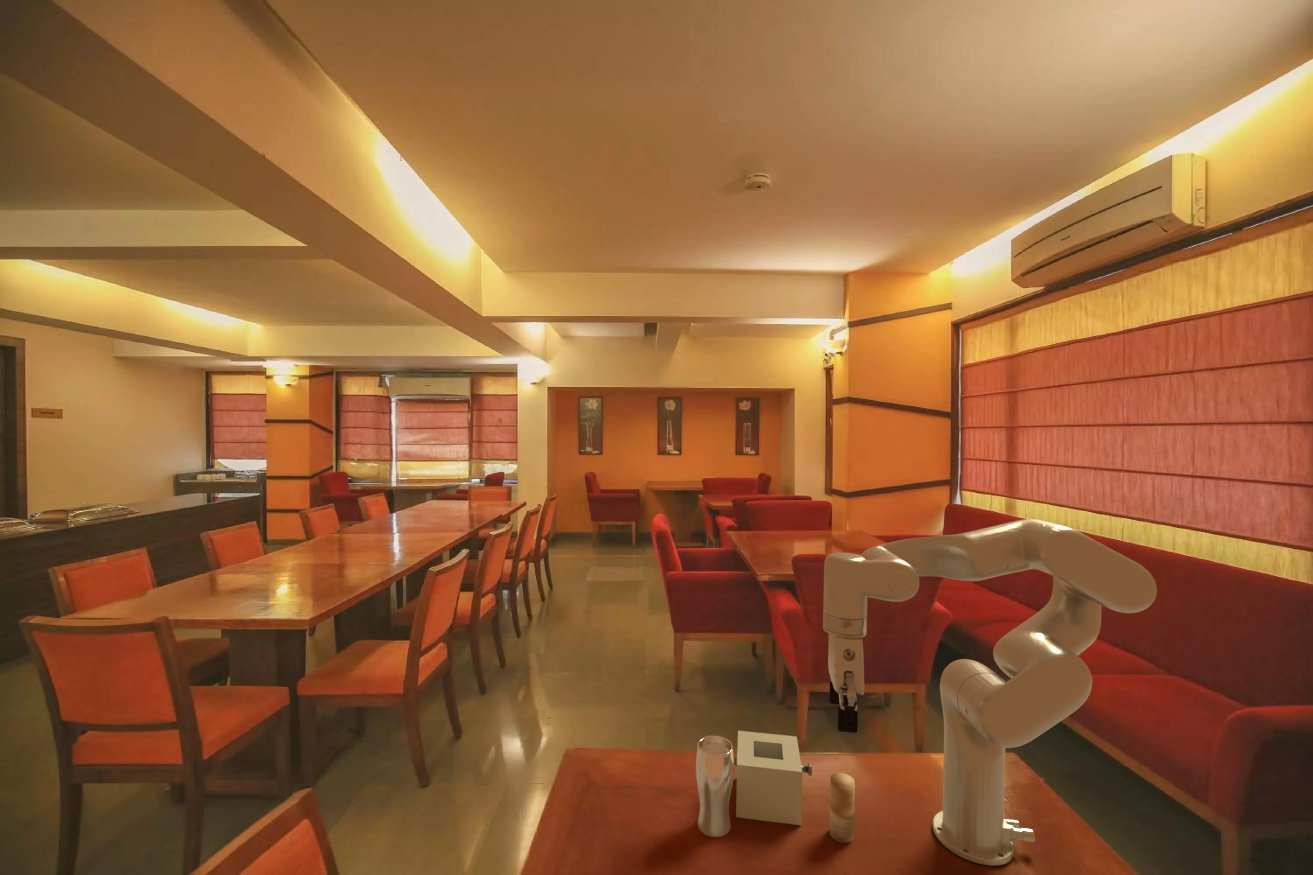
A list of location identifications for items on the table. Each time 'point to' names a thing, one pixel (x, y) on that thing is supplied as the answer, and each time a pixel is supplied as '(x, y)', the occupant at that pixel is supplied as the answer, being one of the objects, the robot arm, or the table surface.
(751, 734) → the socket
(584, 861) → the table surface
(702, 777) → the beer glass
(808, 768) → the plunger
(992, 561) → the robot arm
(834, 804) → the peg
